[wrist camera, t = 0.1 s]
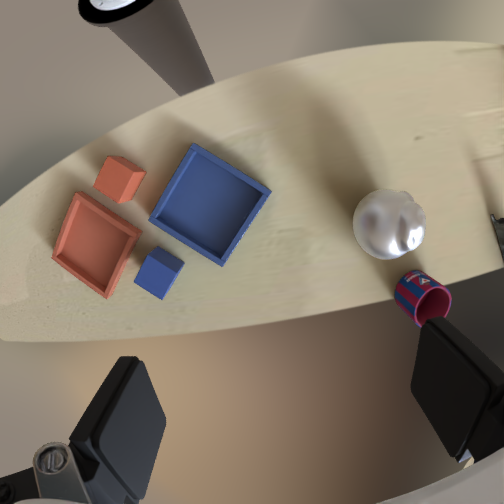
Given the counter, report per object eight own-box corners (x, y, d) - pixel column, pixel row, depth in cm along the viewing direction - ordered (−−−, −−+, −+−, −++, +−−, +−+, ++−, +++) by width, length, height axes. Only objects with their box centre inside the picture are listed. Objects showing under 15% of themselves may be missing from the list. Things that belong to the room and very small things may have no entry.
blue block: (157, 245, 40) (147, 254, 36) (185, 262, 41) (177, 273, 36) (144, 271, 41) (133, 282, 37) (170, 287, 42) (161, 300, 37)
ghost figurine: (396, 253, 40) (431, 275, 31) (338, 245, 40) (363, 267, 30) (408, 193, 38) (447, 200, 28) (349, 180, 38) (379, 183, 28)
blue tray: (196, 144, 37) (193, 142, 35) (271, 190, 38) (272, 191, 36) (152, 218, 39) (147, 220, 37) (223, 262, 41) (222, 267, 39)
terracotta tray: (82, 191, 38) (75, 192, 36) (142, 231, 40) (137, 234, 38) (57, 254, 41) (51, 258, 39) (112, 294, 42) (106, 299, 40)
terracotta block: (122, 156, 37) (107, 155, 33) (146, 171, 38) (134, 172, 33) (107, 184, 38) (92, 186, 34) (131, 200, 39) (118, 203, 34)
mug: (427, 264, 41) (451, 279, 34) (430, 318, 43) (450, 337, 37) (392, 277, 41) (413, 294, 35) (397, 331, 44) (414, 353, 37)
